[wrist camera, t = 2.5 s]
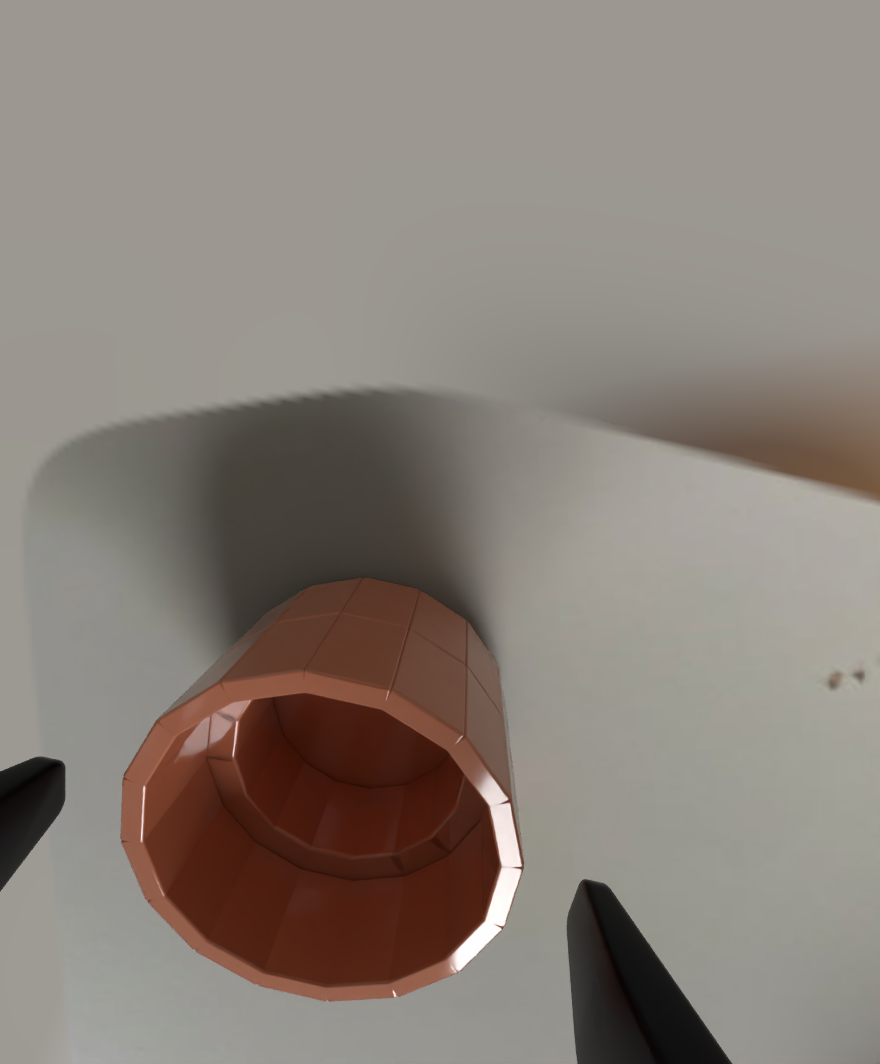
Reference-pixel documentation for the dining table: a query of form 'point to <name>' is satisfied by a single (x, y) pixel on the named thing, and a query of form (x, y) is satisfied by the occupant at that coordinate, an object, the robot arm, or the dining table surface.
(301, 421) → the dining table surface
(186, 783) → the bowl
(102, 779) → the dining table surface
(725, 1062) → the robot arm
